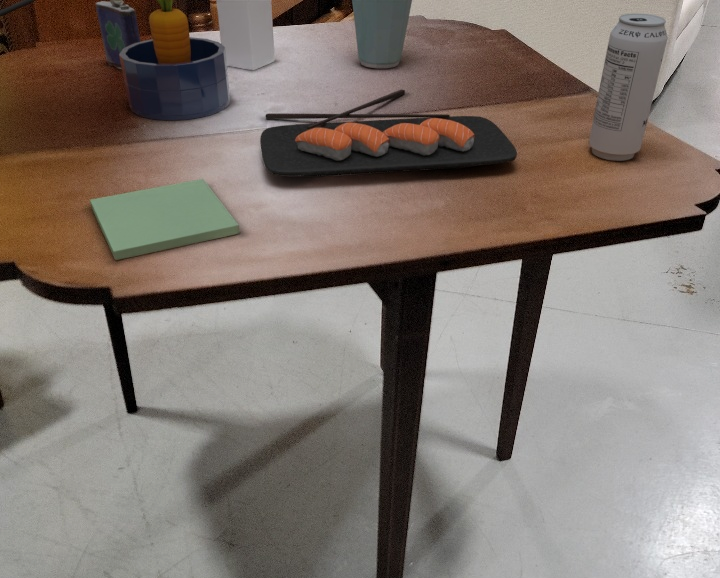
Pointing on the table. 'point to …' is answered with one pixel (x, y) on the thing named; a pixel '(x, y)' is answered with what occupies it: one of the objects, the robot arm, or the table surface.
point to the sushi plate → (381, 143)
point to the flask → (117, 28)
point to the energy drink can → (627, 85)
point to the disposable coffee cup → (380, 31)
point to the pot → (176, 81)
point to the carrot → (170, 34)
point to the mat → (162, 218)
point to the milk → (246, 32)
